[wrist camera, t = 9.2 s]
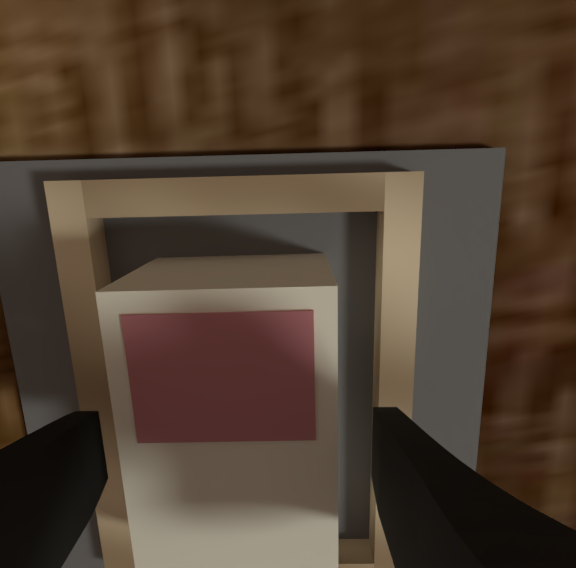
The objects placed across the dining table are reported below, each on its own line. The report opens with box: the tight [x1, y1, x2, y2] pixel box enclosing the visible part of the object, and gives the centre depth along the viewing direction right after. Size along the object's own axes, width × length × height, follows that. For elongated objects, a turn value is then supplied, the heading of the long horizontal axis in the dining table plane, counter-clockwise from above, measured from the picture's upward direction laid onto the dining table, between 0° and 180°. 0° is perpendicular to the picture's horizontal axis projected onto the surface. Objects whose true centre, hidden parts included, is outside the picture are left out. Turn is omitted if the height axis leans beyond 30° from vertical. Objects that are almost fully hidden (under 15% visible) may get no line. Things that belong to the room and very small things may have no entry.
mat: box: [0, 148, 506, 568], centre depth 15 cm, size 26×15×1 cm, turn 1°
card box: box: [95, 253, 338, 568], centre depth 12 cm, size 9×5×4 cm, turn 2°
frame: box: [43, 171, 424, 568], centre depth 13 cm, size 14×10×1 cm
